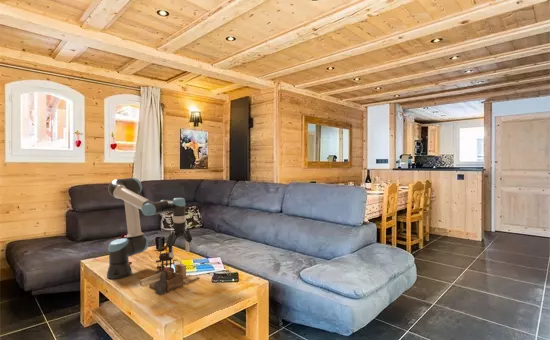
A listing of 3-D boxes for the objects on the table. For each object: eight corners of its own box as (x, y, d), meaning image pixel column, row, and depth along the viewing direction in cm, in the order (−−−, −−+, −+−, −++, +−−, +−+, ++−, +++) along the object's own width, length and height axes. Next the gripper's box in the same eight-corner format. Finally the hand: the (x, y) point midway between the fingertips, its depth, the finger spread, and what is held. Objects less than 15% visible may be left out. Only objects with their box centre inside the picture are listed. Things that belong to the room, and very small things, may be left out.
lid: (168, 280, 201) (168, 266, 201) (181, 274, 211) (181, 261, 211) (186, 284, 193) (186, 270, 193) (199, 278, 203) (198, 264, 202)
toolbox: (144, 289, 186) (143, 269, 186) (165, 280, 199) (165, 261, 199) (162, 295, 178) (162, 273, 177) (183, 285, 191) (182, 265, 191)
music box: (157, 279, 201) (156, 248, 202) (153, 276, 210) (151, 246, 211) (181, 274, 210) (179, 244, 211) (176, 271, 219) (174, 242, 220)
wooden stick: (140, 285, 171) (140, 280, 171) (161, 277, 183) (161, 272, 183) (143, 286, 169) (143, 281, 169) (164, 278, 181) (164, 272, 181)
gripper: (167, 226, 190) (168, 260, 191) (197, 219, 211) (197, 250, 212) (159, 224, 193) (159, 258, 194) (189, 218, 215) (189, 248, 216)
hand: (179, 254), depth 203 cm, fingers open, 13 cm apart
